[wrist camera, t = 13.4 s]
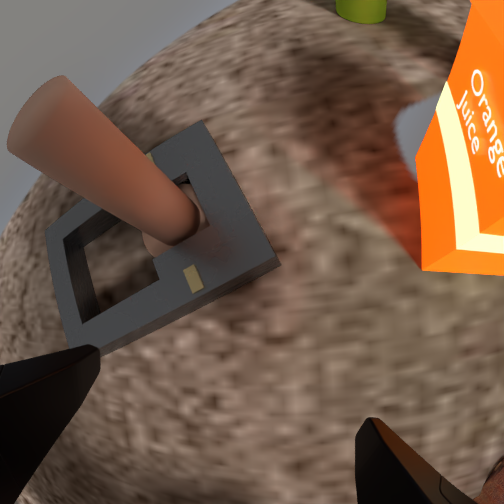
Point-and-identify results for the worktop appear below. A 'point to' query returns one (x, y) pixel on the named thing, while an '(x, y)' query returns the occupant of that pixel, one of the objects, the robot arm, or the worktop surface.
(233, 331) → the worktop surface
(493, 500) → the wooden tablet
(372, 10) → the soap dispenser
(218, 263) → the keyhole plate
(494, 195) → the orange juice
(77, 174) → the peg
